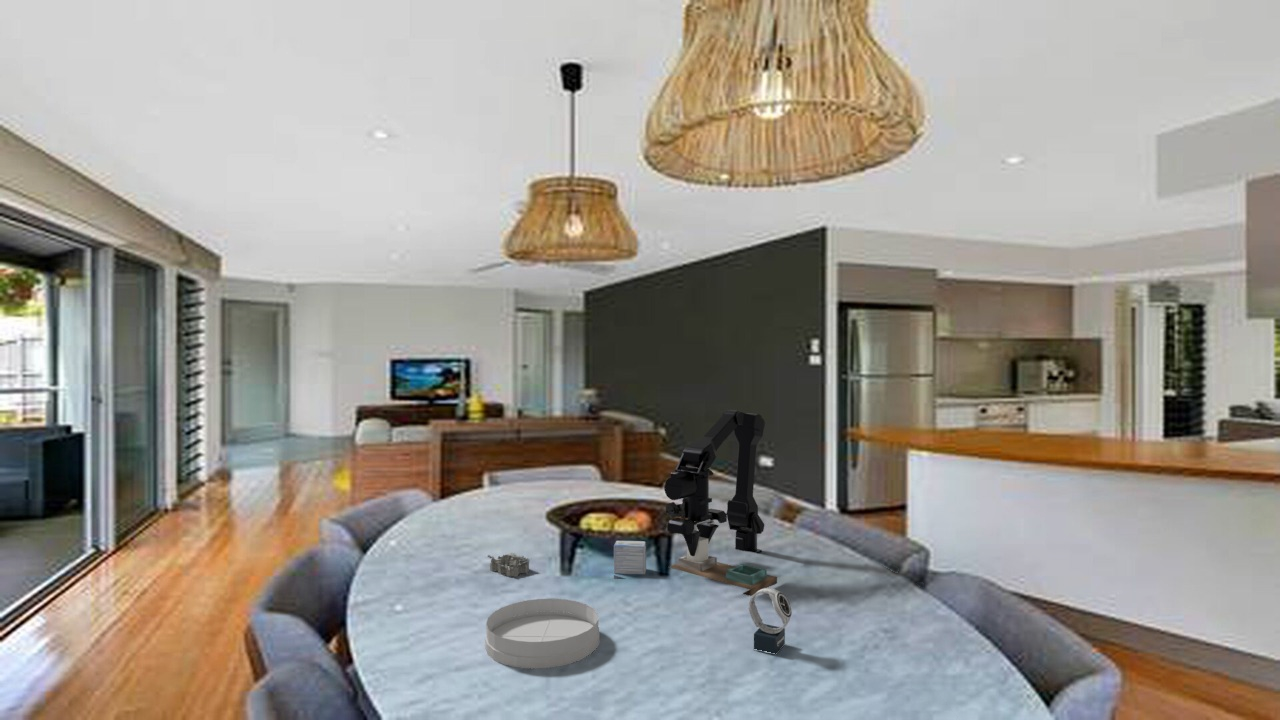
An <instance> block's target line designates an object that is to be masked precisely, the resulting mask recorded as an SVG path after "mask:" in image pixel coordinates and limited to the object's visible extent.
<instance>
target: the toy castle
mask: <svg viewBox="0 0 1280 720" xmlns="http://www.w3.org/2000/svg"><path fill="white" fill-rule="evenodd" d="M487 558H489V559H491V560H490V562H489V570H490V572H497V573H498V574H500V575H501V574H503V575H504V574H506V576H507V577H509V578H510V577H518V576H519V575H520V574H528V573H529V571H530V561H531V560H532V558H528V557H527V558H526V557H524V556H523V555H522V556H521V555H517V554H516V553H513V552H511V553H507V554H502V556H500V555H499V556H498V557H497V559H495V557H494V556H491V555H490V554H488V555H487Z"/></svg>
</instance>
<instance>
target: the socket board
mask: <svg viewBox="0 0 1280 720" xmlns="http://www.w3.org/2000/svg"><path fill="white" fill-rule="evenodd" d="M717 559H718V558H717V556H712V555H708V560H705V561H702V562H696V561H692V560H688V559H687V554H685V555H684V556H681V557H678V560H677V561H678V563H675V564H672V565H669V566H670V567H669V568H670V569H673V570H677V571H681V572H685V573H688V574H693V575H695V576H698V577H699V576H700V577H704V578H707V579H711V580H714V581H717V582H720V583H721V582H722V583H725V584H728V585H731V586H737V587H740V588H743V589H746V590H747V591H745V592H742V593H743V594H742V595H746V596H749V595H750V596H749V597H752V596H753V595H754V594H755V593H756V592H757V591H759V590H760V589H763V588H767V587H768V588H770V587H772V586H774V585H775V584H778V577H777V576H774V575H770V574H768V571H767V569H764V568H761V567H757V566H752V565H750V564H749V565H747V564H743V563H741V564H739V565H731V564H728V563H723V562H719V561H718V560H717ZM769 586H770V587H769Z"/></svg>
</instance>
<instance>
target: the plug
mask: <svg viewBox="0 0 1280 720" xmlns="http://www.w3.org/2000/svg"><path fill="white" fill-rule="evenodd" d="M686 555H687V559H688V560H692V561H696V562H702V561H705V560H708V556H709V544H708V538H704V537H699V540H698V545H697V549H696V553H695V556H691V555H690V553H689V550H688V547H687V546H686Z"/></svg>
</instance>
